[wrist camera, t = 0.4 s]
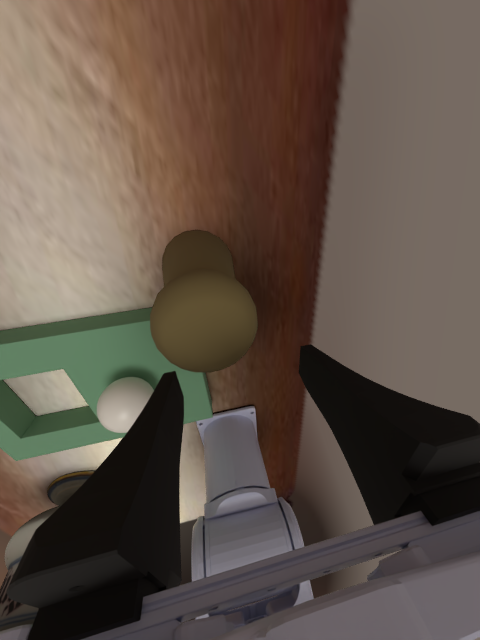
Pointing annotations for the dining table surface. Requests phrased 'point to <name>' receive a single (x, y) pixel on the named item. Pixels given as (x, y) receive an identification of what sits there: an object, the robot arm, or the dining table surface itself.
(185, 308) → the cork
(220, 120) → the dining table surface
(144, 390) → the egg
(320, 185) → the dining table surface
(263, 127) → the dining table surface
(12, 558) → the apothecary jar
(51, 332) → the green
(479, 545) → the robot arm
